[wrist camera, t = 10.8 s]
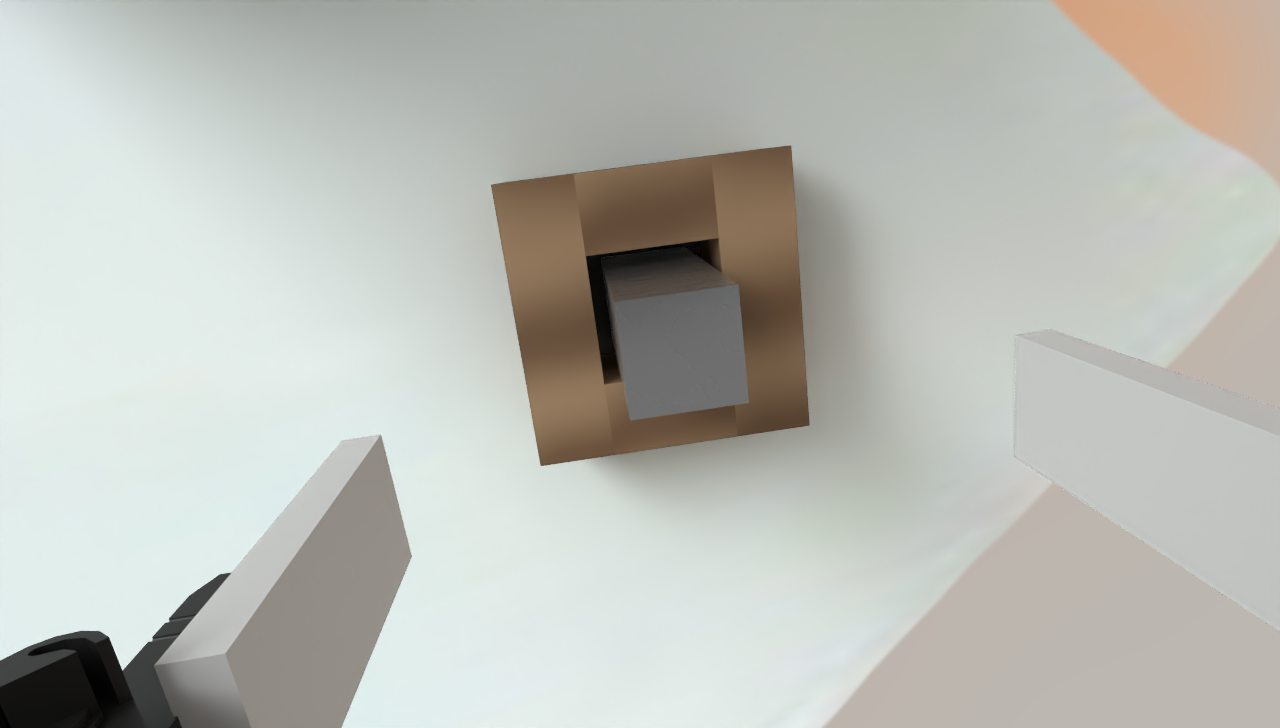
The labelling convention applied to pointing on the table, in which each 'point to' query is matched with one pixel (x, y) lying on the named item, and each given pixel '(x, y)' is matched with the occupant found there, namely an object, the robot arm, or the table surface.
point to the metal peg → (675, 332)
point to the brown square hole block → (642, 218)
